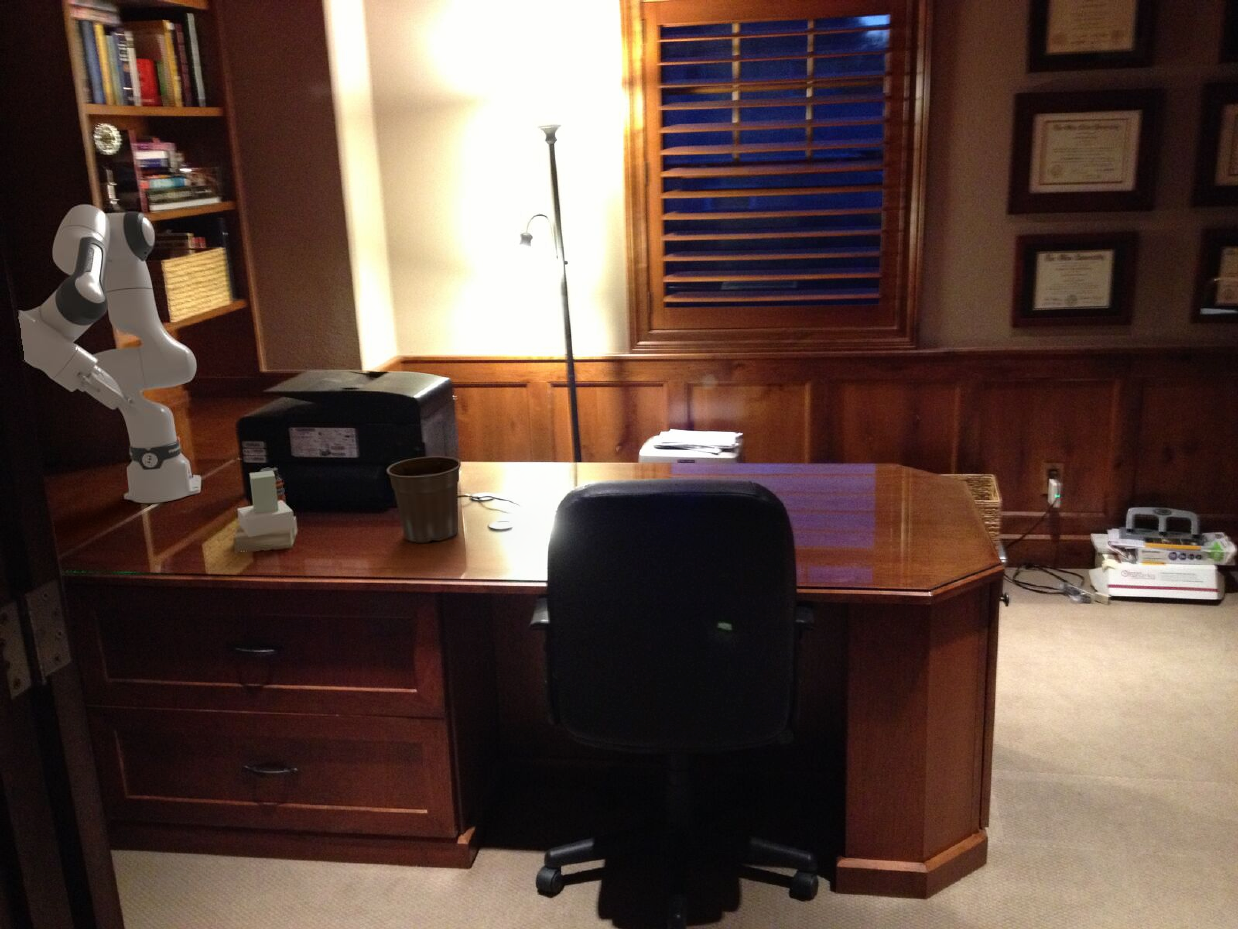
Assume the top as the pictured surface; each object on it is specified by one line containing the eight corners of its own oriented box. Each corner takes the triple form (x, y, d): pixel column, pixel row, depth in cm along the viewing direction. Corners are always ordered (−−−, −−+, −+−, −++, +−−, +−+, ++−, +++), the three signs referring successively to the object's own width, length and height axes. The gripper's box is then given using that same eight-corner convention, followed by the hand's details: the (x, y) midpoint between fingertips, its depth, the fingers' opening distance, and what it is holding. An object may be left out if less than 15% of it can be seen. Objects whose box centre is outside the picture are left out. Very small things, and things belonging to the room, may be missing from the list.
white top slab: (239, 525, 251) (237, 508, 249) (284, 516, 255) (282, 500, 254) (249, 537, 242) (246, 520, 241) (295, 528, 247) (292, 511, 246)
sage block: (253, 507, 249) (249, 473, 247) (276, 504, 251) (272, 470, 249) (255, 513, 245) (251, 478, 243) (278, 510, 247) (274, 475, 244)
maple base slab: (244, 537, 255) (241, 521, 253) (298, 532, 256) (295, 516, 255) (235, 555, 243) (233, 538, 242) (291, 550, 245) (289, 533, 244)
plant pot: (379, 543, 245) (371, 473, 241) (417, 520, 260) (411, 453, 255) (443, 550, 239) (437, 478, 235) (479, 526, 254) (473, 458, 249)
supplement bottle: (279, 518, 265) (273, 473, 262) (257, 517, 266) (250, 472, 263) (291, 510, 271) (285, 466, 268) (269, 509, 272) (263, 465, 269)
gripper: (90, 366, 227) (148, 406, 234) (84, 352, 244) (139, 390, 251) (70, 390, 226) (129, 429, 233) (66, 374, 243) (121, 412, 250)
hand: (134, 409), depth 242 cm, fingers open, 8 cm apart
